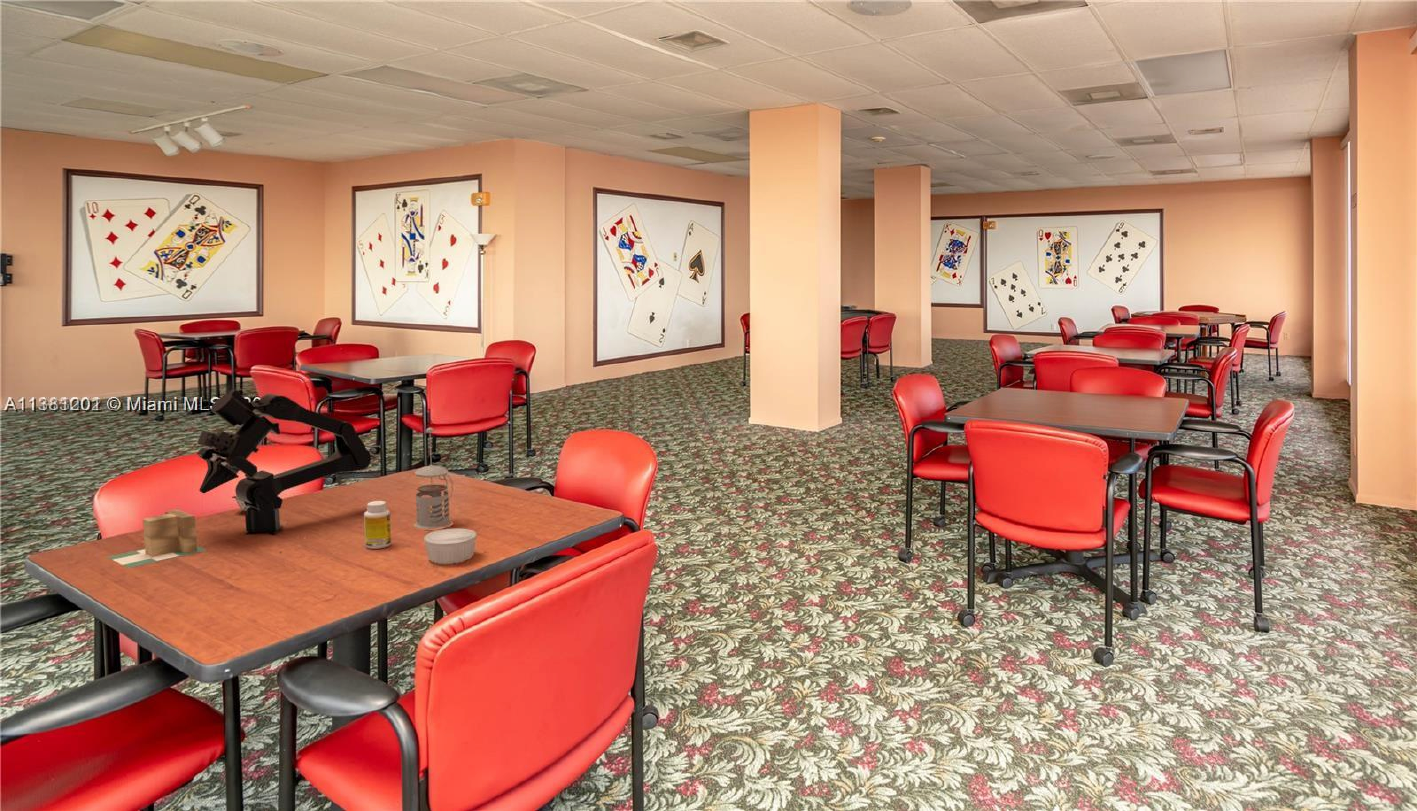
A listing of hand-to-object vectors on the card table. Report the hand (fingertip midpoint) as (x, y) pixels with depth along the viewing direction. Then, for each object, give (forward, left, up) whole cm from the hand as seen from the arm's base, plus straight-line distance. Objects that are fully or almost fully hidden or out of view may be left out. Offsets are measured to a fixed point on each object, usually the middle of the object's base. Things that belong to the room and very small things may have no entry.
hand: (201, 492), depth 192 cm
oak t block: (+5, +5, -12) cm, 14 cm away
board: (+7, +7, -12) cm, 16 cm away
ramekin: (-57, +17, -13) cm, 61 cm away
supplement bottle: (-39, +6, -13) cm, 42 cm away
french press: (-49, -11, -13) cm, 52 cm away
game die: (+1, -29, -13) cm, 32 cm away
